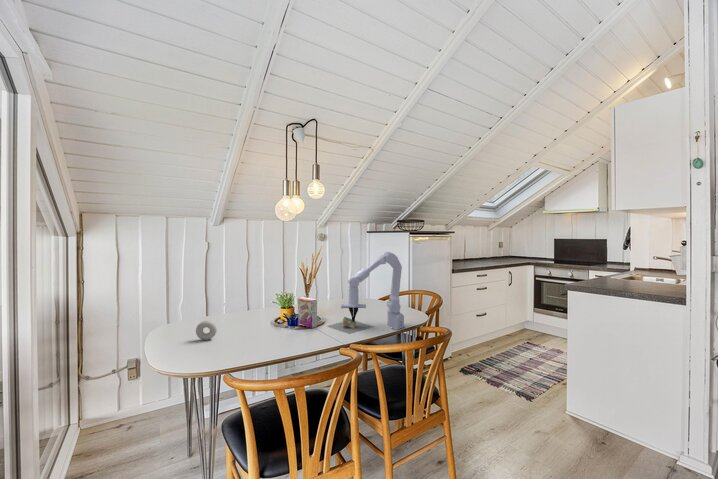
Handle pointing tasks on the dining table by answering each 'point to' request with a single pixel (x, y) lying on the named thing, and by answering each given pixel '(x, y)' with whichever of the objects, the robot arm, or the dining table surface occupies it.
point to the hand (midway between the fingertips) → (353, 320)
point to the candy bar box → (307, 312)
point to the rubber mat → (350, 330)
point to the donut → (206, 335)
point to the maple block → (349, 322)
